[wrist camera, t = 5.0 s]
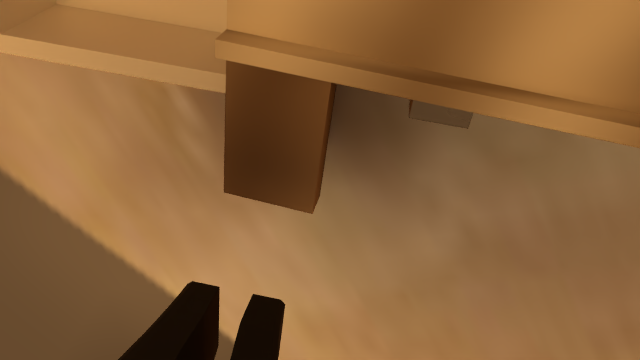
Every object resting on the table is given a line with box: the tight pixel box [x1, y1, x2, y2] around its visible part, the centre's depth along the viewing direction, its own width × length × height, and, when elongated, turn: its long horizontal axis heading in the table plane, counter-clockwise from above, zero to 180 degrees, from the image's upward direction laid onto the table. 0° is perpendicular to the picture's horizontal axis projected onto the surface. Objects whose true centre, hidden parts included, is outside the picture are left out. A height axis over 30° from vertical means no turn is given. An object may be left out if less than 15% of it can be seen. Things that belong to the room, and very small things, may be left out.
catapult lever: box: [215, 0, 640, 214], centre depth 14 cm, size 12×10×3 cm
